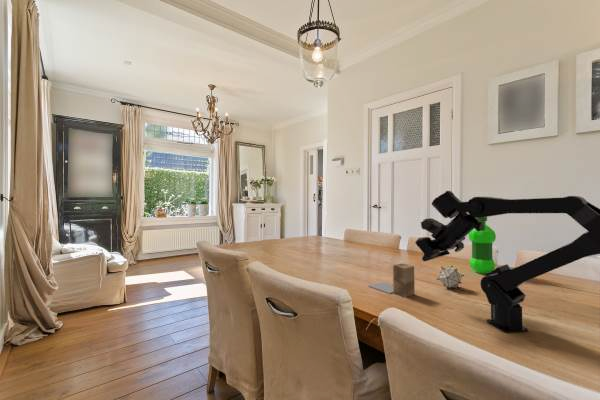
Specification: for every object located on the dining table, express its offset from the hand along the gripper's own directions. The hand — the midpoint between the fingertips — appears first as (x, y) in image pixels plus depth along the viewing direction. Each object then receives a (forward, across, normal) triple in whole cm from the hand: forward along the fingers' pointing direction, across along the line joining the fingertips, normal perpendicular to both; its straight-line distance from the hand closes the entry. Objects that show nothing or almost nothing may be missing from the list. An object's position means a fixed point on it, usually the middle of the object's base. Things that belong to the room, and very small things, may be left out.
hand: (423, 260), depth 92 cm
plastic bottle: (+13, -52, +6) cm, 54 cm away
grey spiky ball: (+11, -19, +8) cm, 24 cm away
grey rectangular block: (+15, 0, +4) cm, 15 cm away
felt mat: (+20, 0, -2) cm, 21 cm away
